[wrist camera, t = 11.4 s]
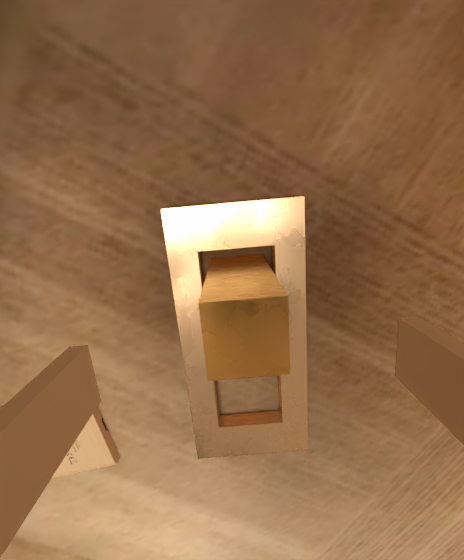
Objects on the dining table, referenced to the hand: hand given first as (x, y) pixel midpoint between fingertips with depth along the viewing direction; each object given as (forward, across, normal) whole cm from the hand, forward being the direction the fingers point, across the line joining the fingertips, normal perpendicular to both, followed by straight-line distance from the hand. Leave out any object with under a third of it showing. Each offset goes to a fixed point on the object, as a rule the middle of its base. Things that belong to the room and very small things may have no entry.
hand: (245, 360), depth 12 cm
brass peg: (+11, 0, 0) cm, 11 cm away
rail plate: (+11, 0, +4) cm, 12 cm away
